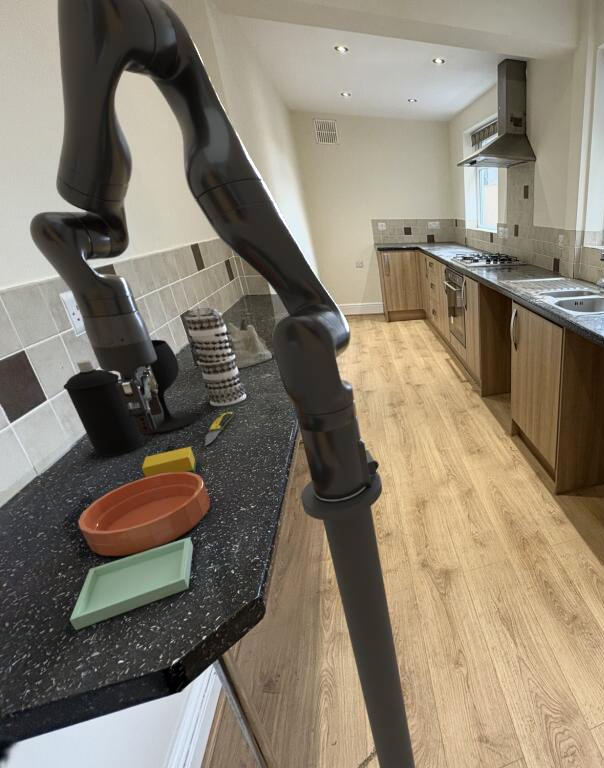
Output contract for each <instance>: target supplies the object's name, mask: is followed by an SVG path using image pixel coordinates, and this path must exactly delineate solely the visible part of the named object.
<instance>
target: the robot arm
mask: <svg viewBox="0 0 604 768" xmlns="http://www.w3.org/2000/svg"><path fill="white" fill-rule="evenodd" d="M57 29H58V44H59V45H58V46H59V62H60V63H59V65H60V77H61V86H62V87H61V88H62V99H63V119H64V120H63V136H62V144H61V149H60V156H59V161H58V167H57V174H56V180H55V187H56V191H57V194H58V195H59V196H60V197H61V198H62V200H64V201H65V202H67V204H70V205H71V206H73V207H75V208H77V209H80V210H82V211H43V212H39V213H37V214H35V215H34V216H33V218H32V219H31V221H30V225H29V233H30V236H31V239H32V242H33V243H34V245H35V246H36V248H37V250H38V251H39V252H40V253H41V254H42V256H43V257H44V258H45V259H46V261H48V263H49V264H50V265H51V267H52V268H53V269H54V270H55V272H57V274H58V275H59V277H60V278H61V279H62V280H63V282H64V283H65V285H66V286H67V287H68V289H69V290H70V292H71V293H72V296H73V299H74V301H75V303H76V306H77V308H78V311H79V313H80V315H81V319H82V322H83V327H84V331H85V334H86V336H87V338H88V341H89V343H90V346H91V348H92V351H93V354H94V356H95V358H96V361H97V362H98V366H99V368H100V370H105V371H109V372H116V373H119V378H118V383H116V388H117V390H118V393H119V395H120V398H121V400H122V403H123V406H124V408H125V411H126V415H127V416H128V417H131V416H133V417H134V420H135V422H136V425H137V427H138V429H139V432H140V434H141V435H149V434H148V433H153V432H155V431H156V425H155V423H154V420H155V419H154V418H153V417H154V416H159V415H161V414H163V409H162V407H161V404H160V402H159V399H158V397H157V395H156V394H158V393H157V392H158V390H157V389H156V388H158V384H157V383H156V380H155V377H154V375H153V372H152V369H151V367H150V364H152V363H154V362H155V361H156V360H157V356H156V353H155V350H154V347H153V344H152V341H151V340H152V338H151V335H150V333H149V330H148V327H147V325H146V322H145V320H144V318H143V316H142V314H141V313H140V310H139V308H138V304H137V302H136V299H135V296H134V293H133V290H132V288H131V287H132V286H131V285H130V283H129V281H128V280H127V279H126V278H125V277H123V276H121V275H117V274H108V273H99V272H98V271H96V270H95V268H93V266H91V265H90V263H89V262H88V261H93V260H106V259H107V260H108V259H114V258H118V257H120V256H121V255H123V254H124V253H125V252H126V251H127V249H128V247H129V244H130V235H129V230H128V229H129V228H128V223H127V222H128V221H127V214H126V207H125V202H126V201H125V200H126V198H127V194H128V189H129V187H130V182H131V178H132V174H133V158H132V157H133V156H132V152H131V149H130V146H129V143H128V140H127V137H126V135H125V134H124V131H123V129H122V127H121V123H120V120H119V118H118V114H117V110H116V94H117V93H116V92H117V89H118V86H119V83H120V80H121V77H122V75H123V73H124V72H127V73H131V74H136V75H140V76H144V77H147V78H149V79H150V80H151V81H152V82H153V83H154V85H155V86H156V87H157V89H158V90H159V92H160V93H161V95H162V96H163V98H164V99H165V102H166V103H167V105H168V106H169V108H170V110H171V112H172V114H173V115H174V117H175V119H176V122H177V123H178V126H179V130H180V132H181V136H182V137H181V138H182V152H183V153H182V154H183V169H184V176H185V181H186V185H187V188H188V190H189V193H190V194H191V196H192V198H193V199H194V201H195V202H196V205H197V206H198V208H199V209H200V211H201V212H202V214H203V215H204V217H205V219H206V220H207V222H208V224H209V225H210V227H211V228H212V230H213V231H214V232H215V234H216V236H217V237H218V238H219V239H220V240H221V241H222V243H224V245H226V247H227V248H229V249H230V250H231V251H232V252H233V253H234V254H235V255H236V256H238V258H240V259H241V260H242V261H243V262H245V263H246V264H247V265H248V266H249V267H250V268H252V269H253V270H254V271H256V273H257V274H259V276H261V277H262V278H263V279H264V280H265V281H266V282H267V283H268V284H269V285H270V287H271V289H273V290H274V292H275V293H276V295H277V297H278V298H279V300H280V302H281V303H282V305H283V306H284V308H285V310H286V312H287V315H285V316H283V317H282V318H280V319H279V320H278V321H277V322H276V324H275V326H274V327H273V329H272V334H271V335H272V337H271V338H272V339H271V340H272V341H271V342H272V350H273V354H274V358H275V362H276V365H277V368H278V371H279V375H280V378H281V380H282V381H281V382H282V384H283V387H284V390H285V393H286V394H287V396H288V397H289V398H290V399H291V401H292V403H293V406H294V409H295V413H296V417H297V422H298V426H299V430H300V435H301V439H302V444H303V448H304V452H305V457H306V461H307V465H308V471H309V472H308V474H309V477H310V480H311V481H312V483H313V488H314V494H315V497H316V498H317V499H318V500H319V501H322V502H325V503H339V502H344V501H347V500H350V499H353V498H355V497H357V496H358V495H360V494H361V493H362V492H364V490H366V489H368V488H371V480H370V475H373V474H376V472H377V470H378V468H379V467H380V466H379V465H380V464H379V461H377V460H375V459H374V458H373V456H372V454H371V452H370V451H369V449H366V445H365V441H364V440H363V438H362V435H361V430H360V424H359V418H358V417H359V416H358V412H357V406H356V401H355V394H354V389H353V386H352V384H351V383H350V382H349V381H347V380H346V379H342V378H341V375H340V370H339V366H338V361H337V358H339V357H340V356H341V355H342V354H344V353H345V352H346V351H347V349H348V347H349V346H350V343H351V339H352V338H351V337H352V336H351V328H350V325H349V323H348V320H347V319H346V317H345V315H344V313H343V312H342V310H340V309H341V308H339V306H338V305H337V303H336V301H334V299H333V297H332V296H331V295H330V294H329V292H328V290H327V289H326V288H325V286H324V284H323V283H322V281H321V280H320V279H319V277H318V276H317V275H316V273H315V271H314V269H313V268H312V266H311V264H310V262H309V260H308V259H307V257H306V255H305V254H304V252H303V250H302V248H301V246H300V244H299V242H298V240H297V238H295V235H294V234H293V232H292V230H291V229H290V228H291V227H290V226H289V225H288V223H287V222H286V220H285V218H284V215H283V214H282V212H281V210H280V207H279V206H278V203H277V202H276V200H275V198H274V197H273V194H272V193H271V191H270V189H269V187H268V186H267V184H266V182H265V181H264V178H263V177H262V175H261V174H260V172H259V170H258V169H257V167H256V165H255V163H254V162H253V160H252V159H251V157H250V155H249V153H248V151H247V149H246V147H245V145H244V144H243V141H242V140H241V137H240V135H239V134H238V132H237V130H236V128H235V127H234V125H233V123H232V121H231V119H230V117H229V116H228V114H227V112H226V110H225V107H224V106H223V104H222V102H221V100H220V98H219V95H218V93H217V91H216V88H215V87H214V85H213V82H212V79H211V78H210V75H209V72H208V71H207V68H206V67H205V64H204V62H203V60H202V58H201V55H200V53H199V51H198V48H197V46H196V44H195V43H194V40H193V38H192V36H191V34H190V33H189V30H188V29H187V27H186V25H185V23H184V22H183V21H182V19H181V18H180V16H179V14H178V13H177V12H176V11H175V10H174V9H173V8H172V7H171V5H169V4H168V3H167V2H166V1H165V0H57ZM135 404H139V407H135ZM311 481H310V482H311Z"/></svg>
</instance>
